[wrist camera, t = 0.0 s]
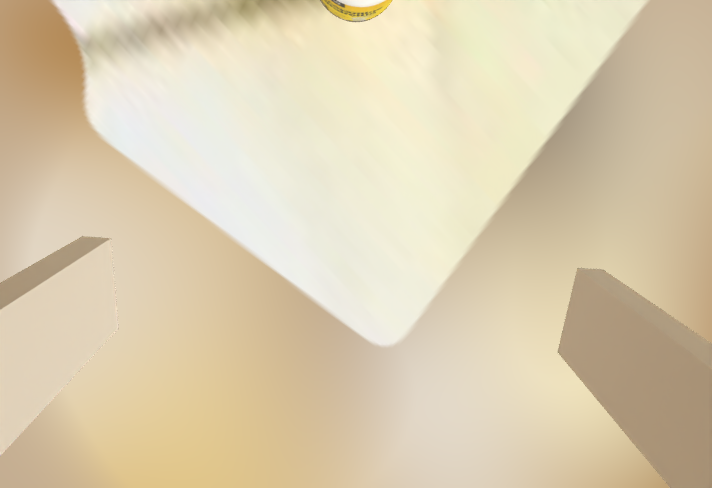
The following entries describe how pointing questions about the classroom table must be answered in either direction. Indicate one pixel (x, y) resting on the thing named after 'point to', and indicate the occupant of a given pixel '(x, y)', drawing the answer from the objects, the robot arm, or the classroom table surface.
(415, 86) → the classroom table surface
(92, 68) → the classroom table surface
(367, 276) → the classroom table surface
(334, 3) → the pill bottle
